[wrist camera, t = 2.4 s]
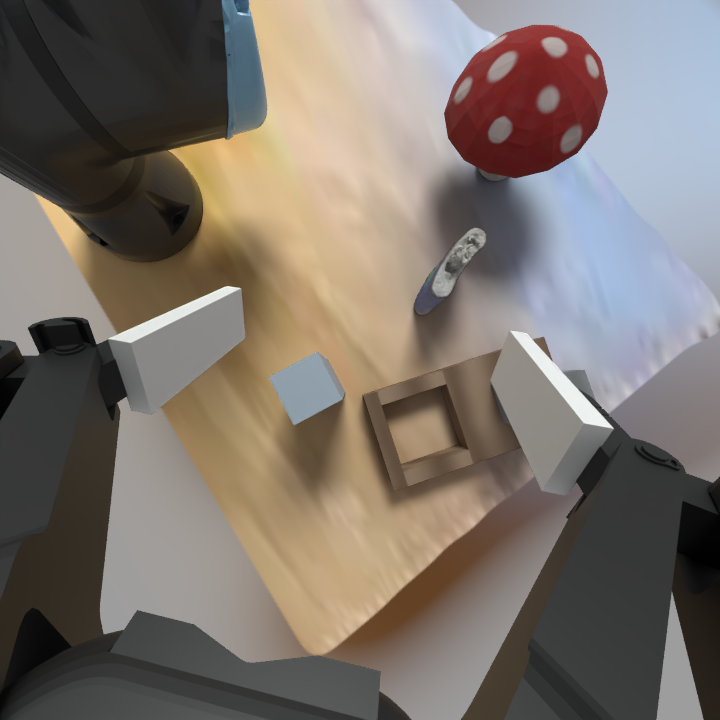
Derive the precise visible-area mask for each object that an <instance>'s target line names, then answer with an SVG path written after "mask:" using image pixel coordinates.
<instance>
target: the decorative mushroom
mask: <svg viewBox="0 0 720 720" xmlns="http://www.w3.org/2000/svg"><path fill="white" fill-rule="evenodd" d="M607 93H608V91H607V86H606V81H605V76H604V71H603V66H602V62H601V59H600V58H599V56H598V55H597V54H596V52H595V51H594V50H593V49H592V48H591V47H590V46H589V44H588V43H587V42H586V41H585V40H584V38H583V37H582V36H580V35H578V34H575V33H573V32H571V31H569V30H567V29H565V28H563V27H561V26H557V25H556V26H555V25H531V26H528V27H524V28H521V29H517V30H514V31H510V32H507V33H505V34H503V35H501V36H500V37H498V38H497V39H496V40H494V41H493V42H492V43H490V44H489V45H487V46H486V47H484V48H483V49H482V50H480V51H479V52H478V53H476V54H475V55H474V57H473V58H472V59H471V60H470V62H469V63H468V65H467V66H466V68H465V69H464V71H463V72H462V74H461V75H460V76H459V78H458V79H457V81H456V83H455V84H454V86H453V88H452V91H451V94H450V97H449V100H448V103H447V106H446V109H445V112H444V115H445V121H446V128H447V134H448V139H449V140H450V141H451V143H452V144H453V146H454V147H455V148H456V150H457V151H458V152H459V154H460V155H461V157H462V158H463V159H464V160H465V161H467V162H469V163H470V164H472V165H474V166H476V167H478V169H479V171H480V173H481V175H482V176H484V177H485V178H486V179H488V180H491V181H501V180H503V179H505V178H507V177H512V178H519V177H523V176H527V175H531V174H535V173H539V172H544V171H548V170H550V169H551V168H553V167H555V166H556V165H558V164H560V163H561V162H563V161H565V160H566V159H568V158H570V157H572V156H573V155H575V154H577V153H578V151H579V150H580V149H581V148H582V146H583V145H584V144H585V143H586V141H587V140H588V138H590V136H591V135H592V134H593V133H594V131H595V130H596V129H597V126H598V123H599V120H600V117H601V113H602V110H603V106H604V103H605V100H606V97H607Z"/></svg>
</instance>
